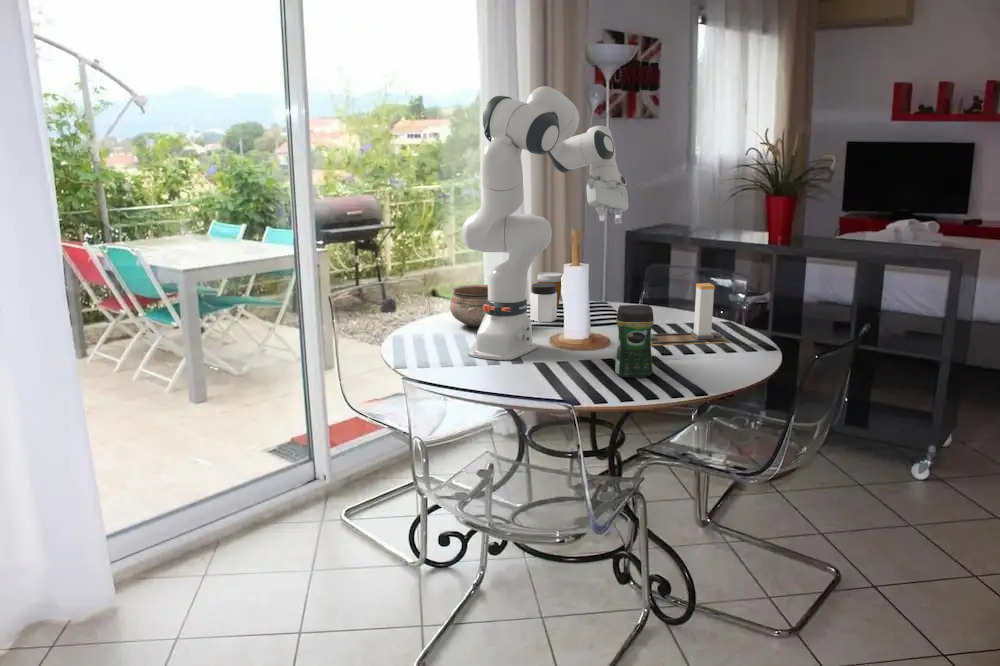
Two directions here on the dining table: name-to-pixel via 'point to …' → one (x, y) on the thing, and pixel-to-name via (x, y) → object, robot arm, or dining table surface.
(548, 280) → the disposable coffee cup
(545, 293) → the jar
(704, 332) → the fader
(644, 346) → the coffee jar
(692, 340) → the board
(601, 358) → the dining table surface
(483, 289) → the cooking pot
